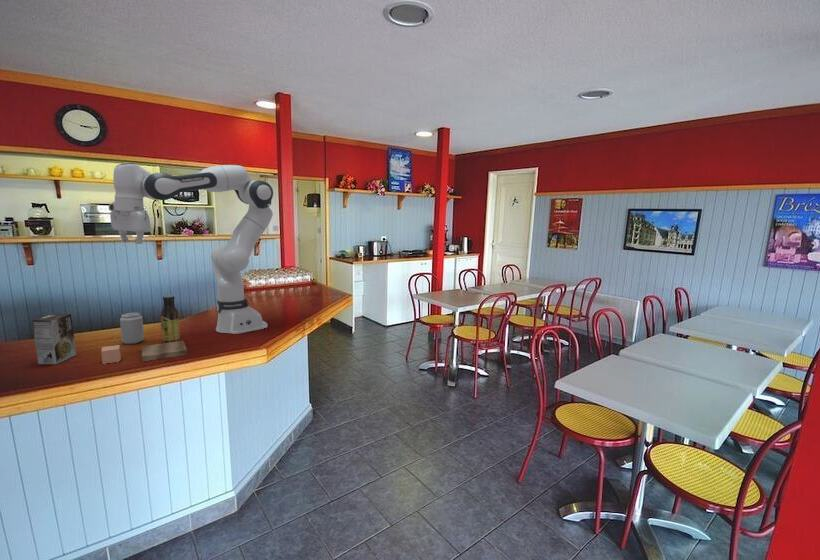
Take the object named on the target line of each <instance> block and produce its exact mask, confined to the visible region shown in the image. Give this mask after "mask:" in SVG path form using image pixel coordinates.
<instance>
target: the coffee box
mask: <svg viewBox="0 0 820 560" xmlns="http://www.w3.org/2000/svg"><path fill="white" fill-rule="evenodd" d="M31 322H32V328H33V329H32V330H33V334H34V335H33V336H34V343H35V350H36V357H37V364H38V365H58V364H60V363H62V362H65V361H66V360H68V359H71V358H73V357H75V356H77V350H76V341H75V335H74V326H73V319H72V313H59V312H57V313H55V312H54V313H50V314H47V315H44V316H41V317H38V318H35V319H32V320H31Z"/></svg>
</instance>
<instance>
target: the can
mask: <svg viewBox="0 0 820 560" xmlns="http://www.w3.org/2000/svg"><path fill="white" fill-rule="evenodd" d="M119 324H120V335H121V336H120V337H121V343H123V344H125V345H135V344H136V345H137V344H140V343H142V342H143V341H144V340H145V333H144V323H143V316H142V315H141V313H140V312H129V313H123V314H122V315H121V317H120V318H119ZM141 341H142V342H141ZM139 342H140V343H139Z"/></svg>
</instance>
